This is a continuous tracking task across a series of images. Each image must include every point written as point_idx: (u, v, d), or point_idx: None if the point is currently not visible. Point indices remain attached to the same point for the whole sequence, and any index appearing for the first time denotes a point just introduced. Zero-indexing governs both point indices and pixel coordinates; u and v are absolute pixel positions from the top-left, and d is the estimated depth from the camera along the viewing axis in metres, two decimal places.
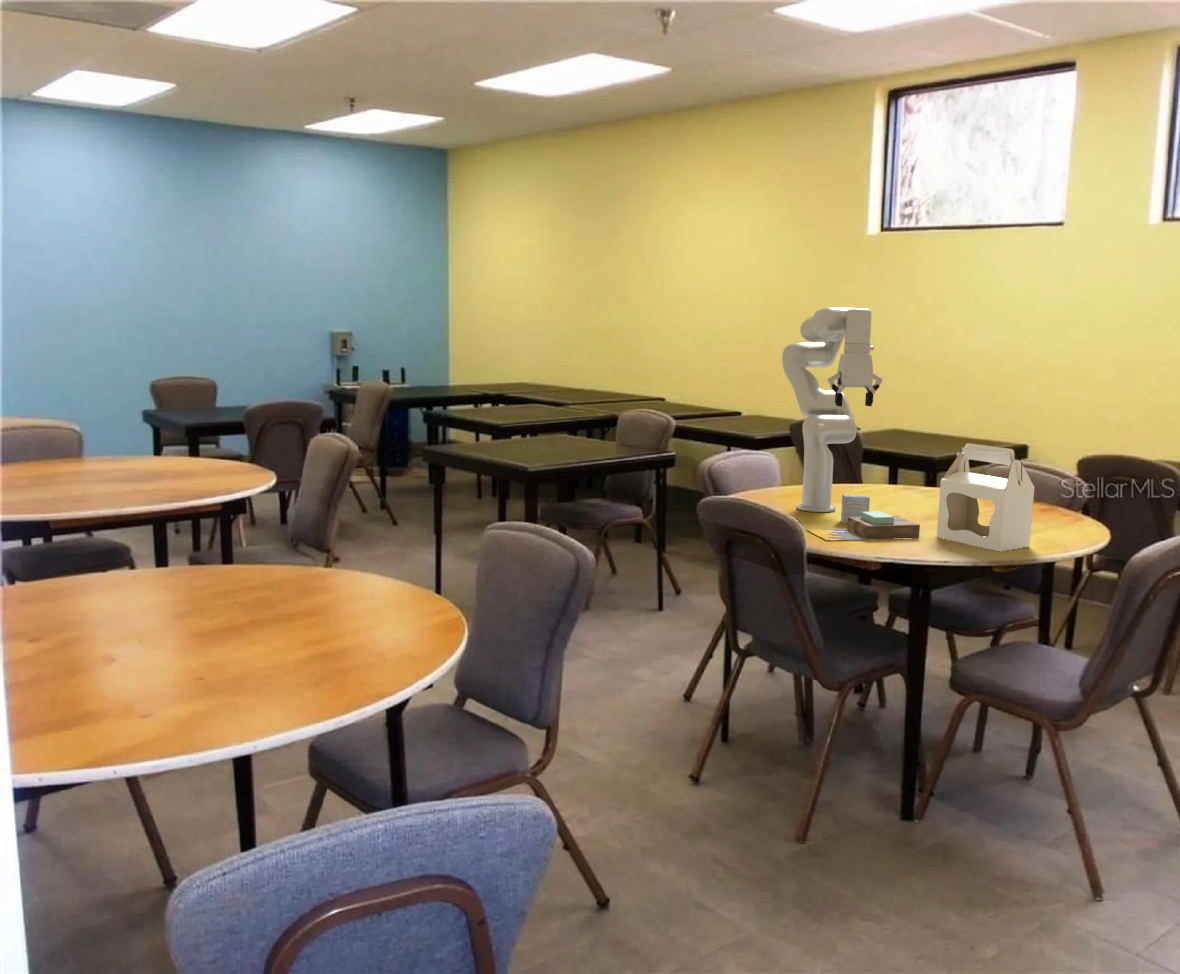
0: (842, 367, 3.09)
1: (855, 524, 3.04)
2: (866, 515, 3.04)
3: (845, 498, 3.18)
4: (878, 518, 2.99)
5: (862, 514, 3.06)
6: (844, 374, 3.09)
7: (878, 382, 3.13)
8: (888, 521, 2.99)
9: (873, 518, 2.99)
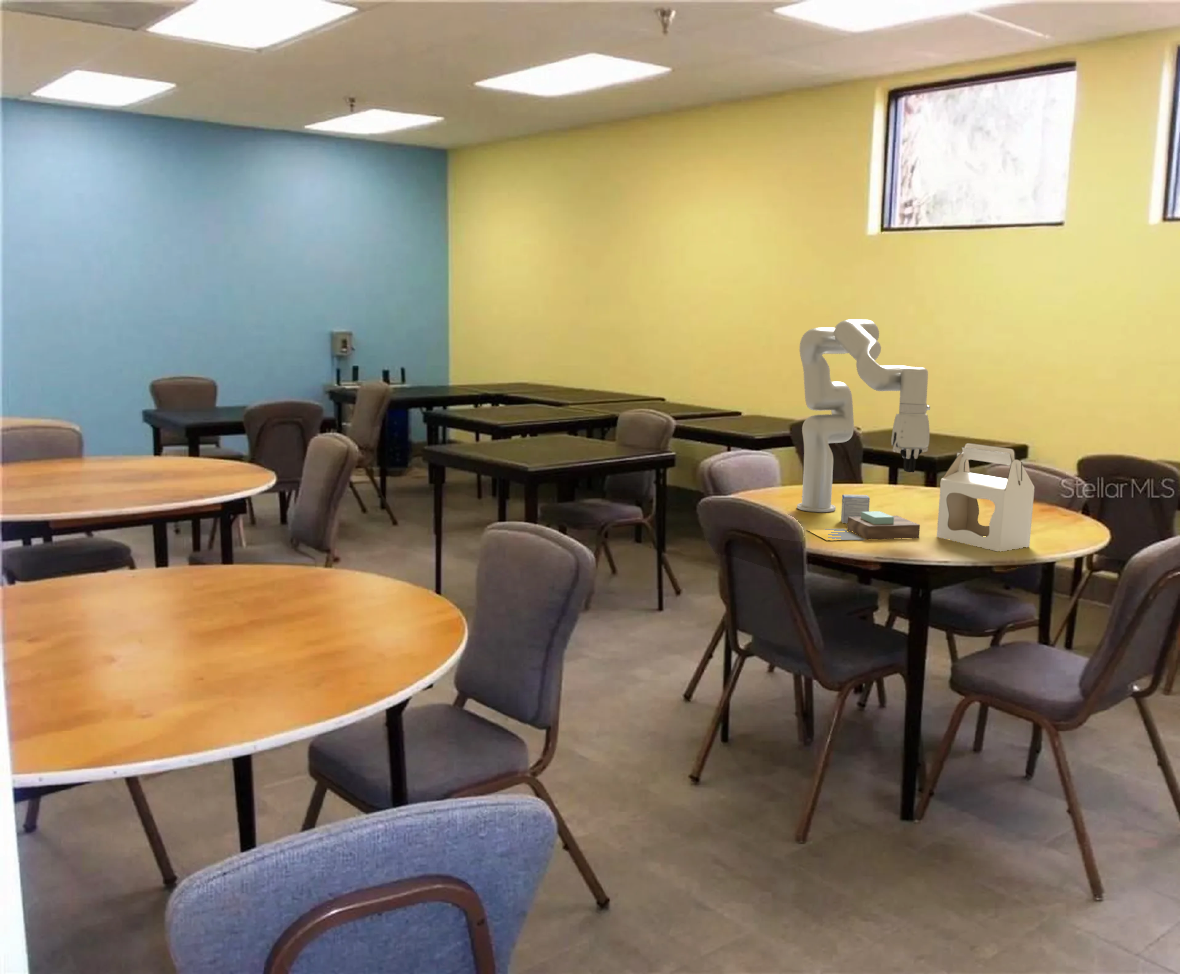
0: (898, 428, 2.99)
1: (855, 524, 3.04)
2: (866, 515, 3.04)
3: (845, 498, 3.18)
4: (878, 518, 2.99)
5: (862, 514, 3.06)
6: (900, 435, 2.98)
7: (923, 449, 3.02)
8: (888, 521, 2.99)
9: (873, 518, 2.99)
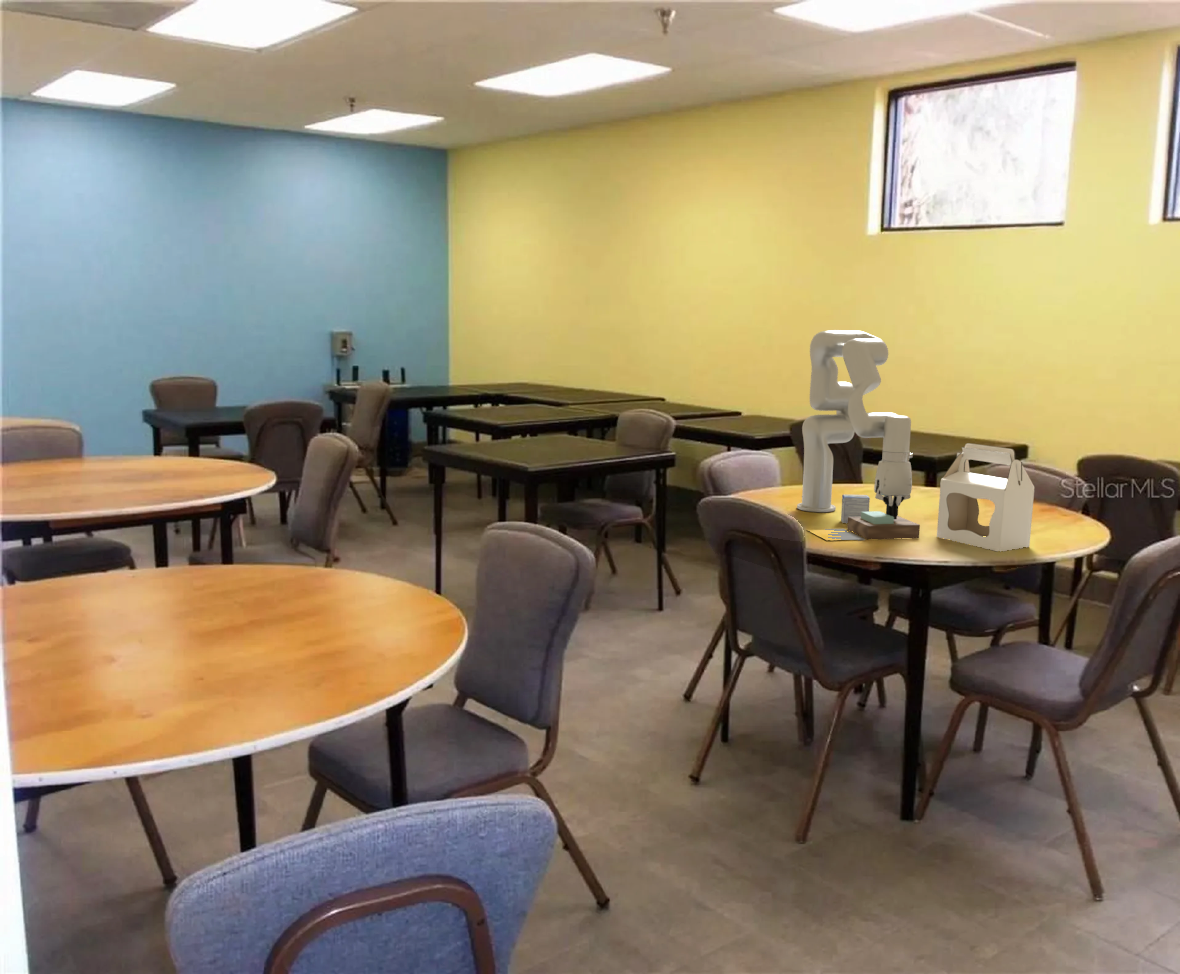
0: (880, 476, 3.00)
1: (855, 524, 3.04)
2: (866, 515, 3.04)
3: (845, 498, 3.18)
4: (878, 518, 2.99)
5: (862, 514, 3.06)
6: (883, 483, 3.00)
7: (905, 496, 3.03)
8: (888, 521, 2.99)
9: (873, 518, 2.99)
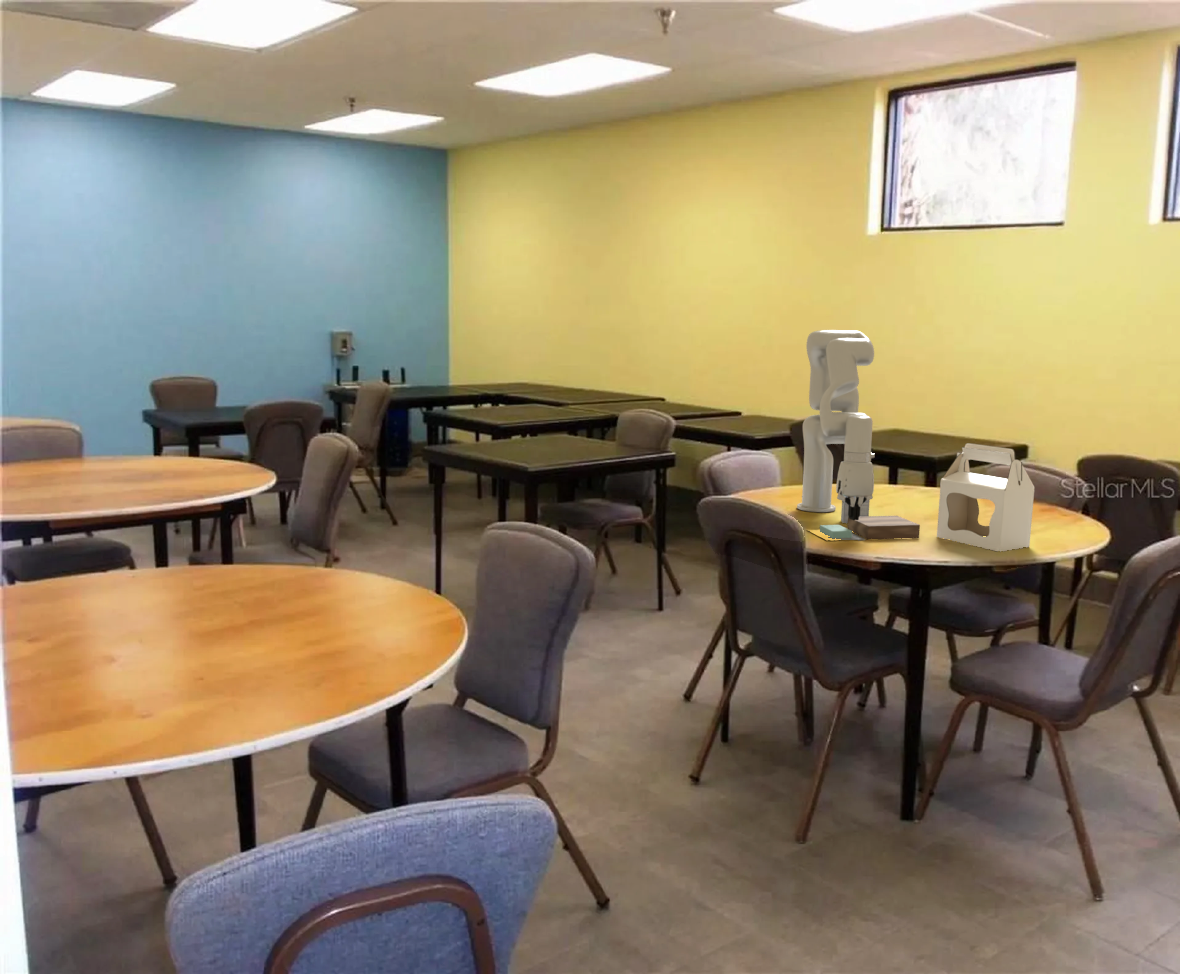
0: (842, 476, 2.98)
1: (855, 524, 3.04)
2: None
3: None
4: (848, 536, 2.97)
5: None
6: (844, 484, 2.97)
7: (867, 497, 3.01)
8: (837, 534, 2.97)
9: None
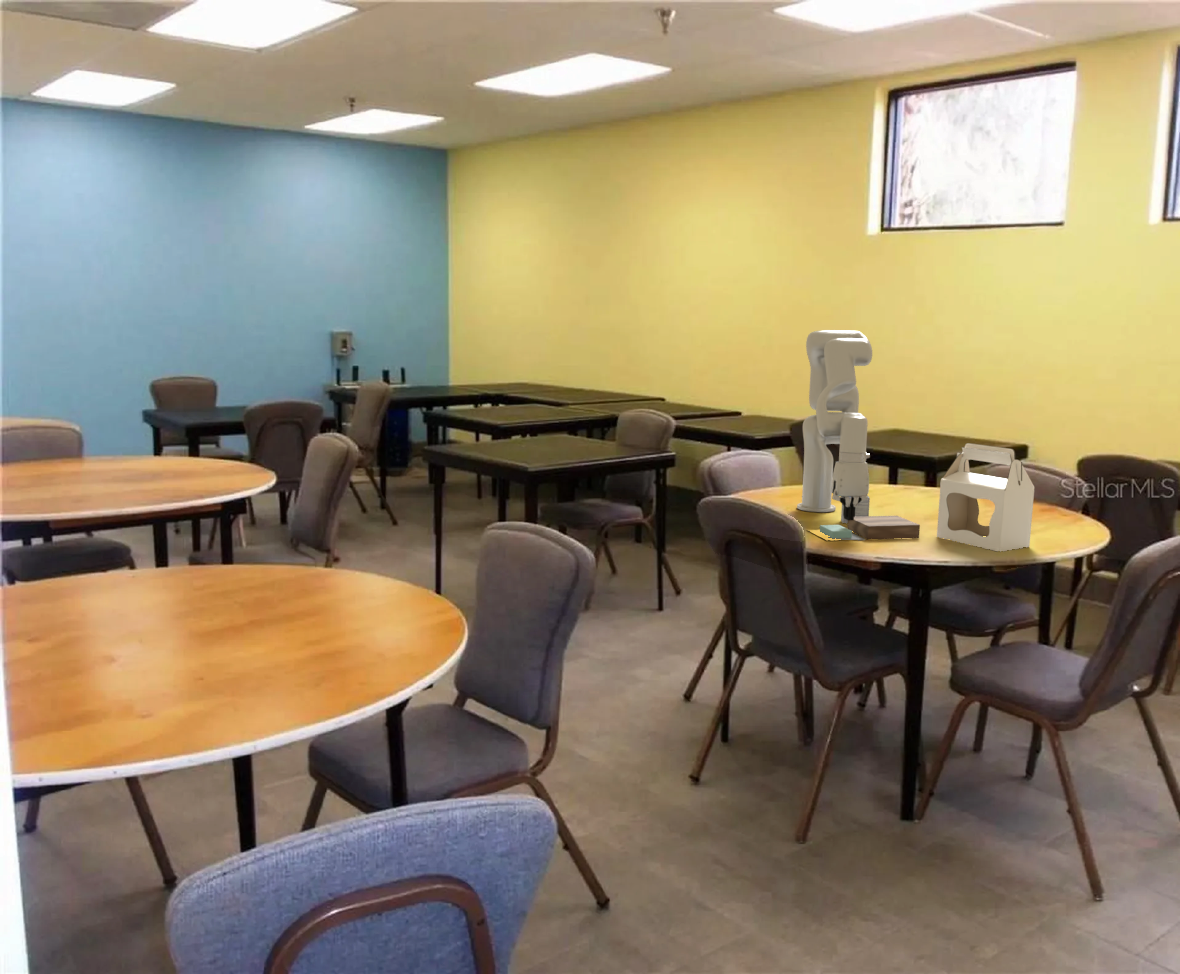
0: (837, 476, 2.98)
1: (855, 524, 3.04)
2: None
3: None
4: (848, 536, 2.97)
5: None
6: (839, 484, 2.97)
7: (862, 497, 3.01)
8: (837, 534, 2.97)
9: None
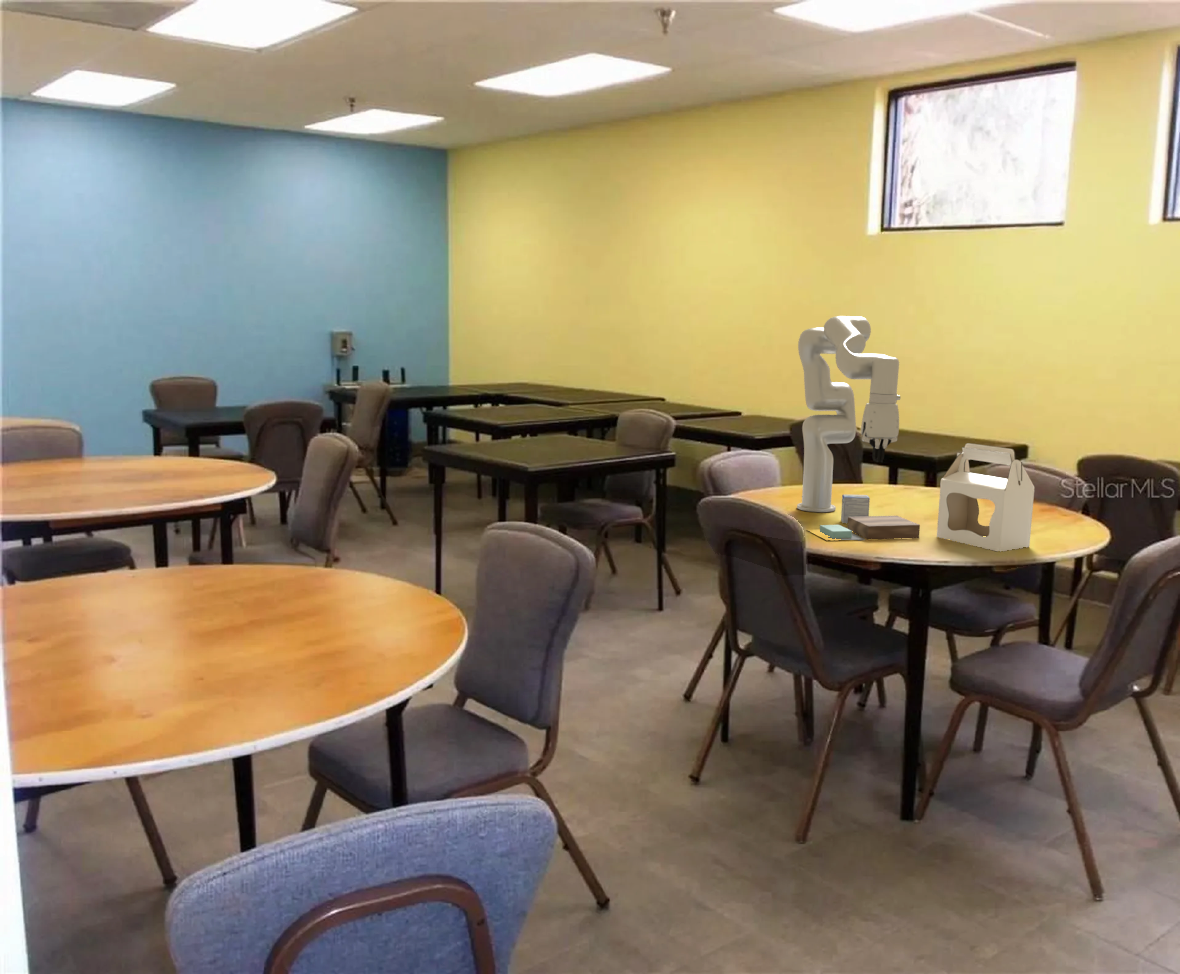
0: (867, 418, 2.97)
1: (855, 524, 3.04)
2: None
3: (845, 498, 3.18)
4: (848, 536, 2.97)
5: None
6: (869, 425, 2.96)
7: (892, 439, 3.00)
8: (837, 534, 2.97)
9: None
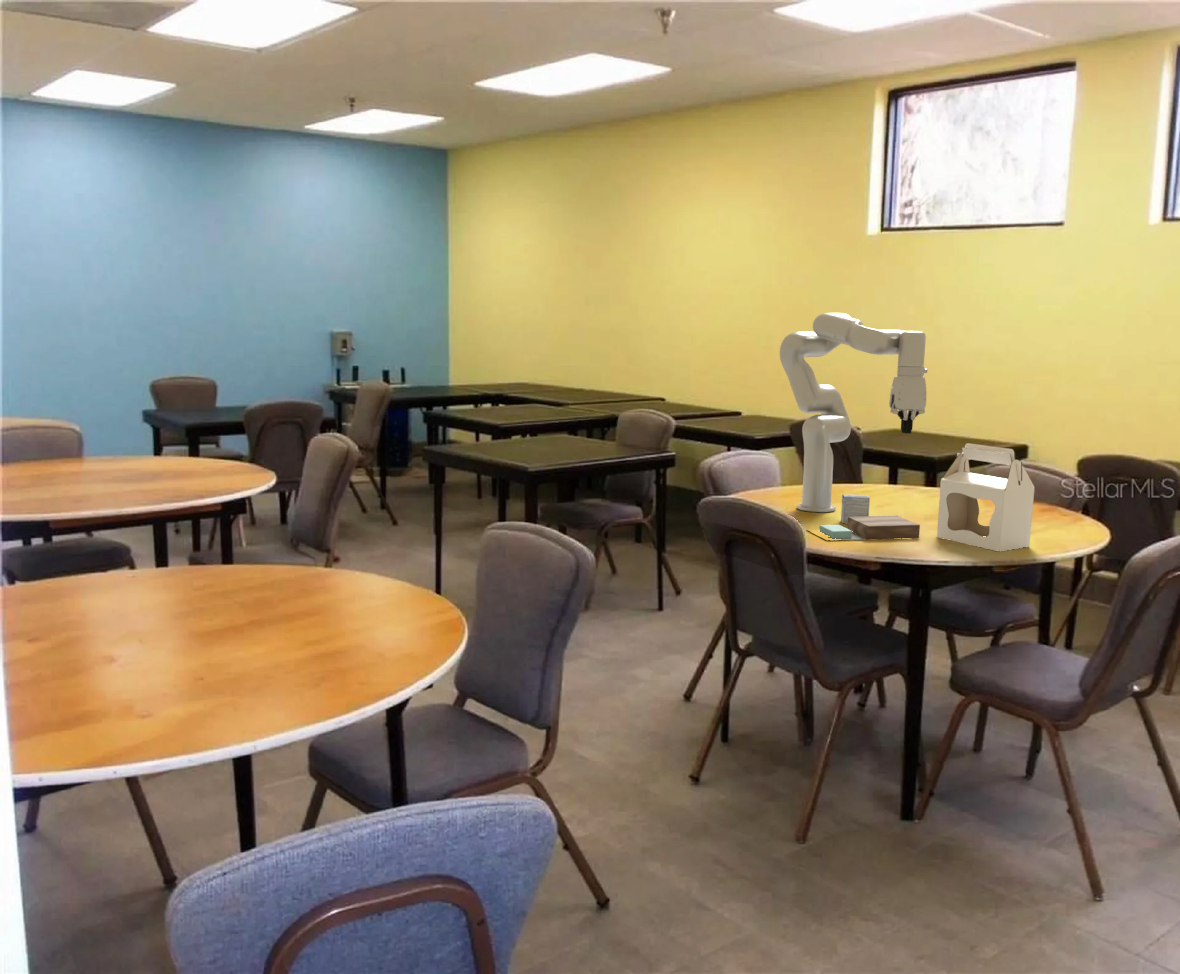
0: (895, 390, 3.07)
1: (855, 524, 3.04)
2: None
3: (845, 498, 3.18)
4: (848, 536, 2.97)
5: None
6: (898, 397, 3.07)
7: (920, 411, 3.10)
8: (837, 534, 2.97)
9: None
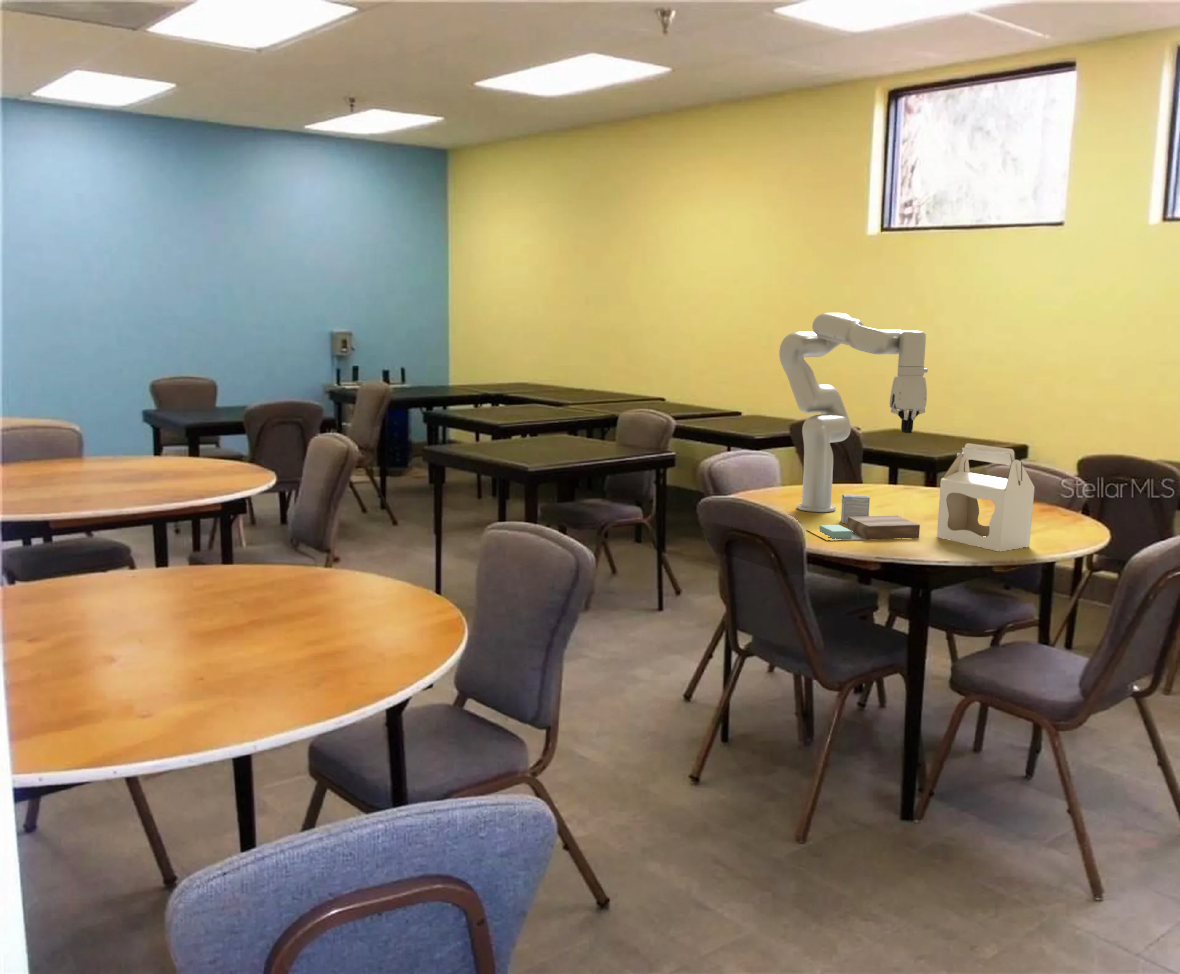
0: (896, 390, 3.07)
1: (855, 524, 3.04)
2: None
3: (845, 498, 3.18)
4: (848, 536, 2.97)
5: None
6: (898, 397, 3.07)
7: (920, 411, 3.11)
8: (837, 534, 2.97)
9: None
